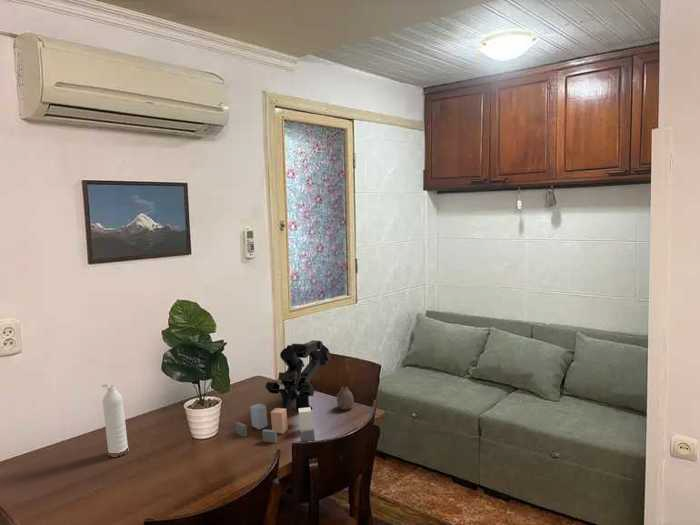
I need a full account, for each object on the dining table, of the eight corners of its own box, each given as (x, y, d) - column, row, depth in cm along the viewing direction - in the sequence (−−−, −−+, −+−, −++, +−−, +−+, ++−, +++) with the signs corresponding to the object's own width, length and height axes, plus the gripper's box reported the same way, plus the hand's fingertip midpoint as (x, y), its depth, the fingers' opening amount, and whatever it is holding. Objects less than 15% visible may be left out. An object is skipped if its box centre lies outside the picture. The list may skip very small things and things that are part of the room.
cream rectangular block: (299, 428, 201) (298, 408, 200) (311, 427, 201) (310, 407, 200) (300, 433, 197) (298, 412, 196) (312, 431, 197) (311, 411, 196)
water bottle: (131, 452, 189) (124, 385, 186) (113, 460, 184) (105, 390, 181) (120, 446, 195) (113, 380, 192) (102, 452, 190) (95, 385, 187)
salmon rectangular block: (276, 427, 202) (275, 407, 201) (287, 428, 201) (286, 408, 200) (272, 432, 199) (270, 412, 198) (283, 433, 197) (281, 412, 196)
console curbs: (230, 438, 196) (229, 428, 196) (237, 431, 201) (236, 421, 201) (310, 446, 186) (309, 435, 186) (316, 439, 192) (315, 428, 191)
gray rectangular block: (260, 422, 208) (258, 403, 207) (267, 425, 205) (265, 406, 204) (252, 426, 205) (250, 406, 204) (259, 429, 202) (257, 409, 201)
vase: (354, 404, 222) (353, 384, 221) (353, 411, 215) (352, 390, 214) (338, 404, 222) (337, 384, 221) (336, 411, 216) (335, 390, 215)
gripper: (265, 361, 210) (254, 399, 201) (309, 363, 204) (300, 402, 195) (275, 374, 218) (265, 410, 209) (317, 376, 212) (309, 414, 203)
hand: (284, 409), depth 204 cm, fingers closed
